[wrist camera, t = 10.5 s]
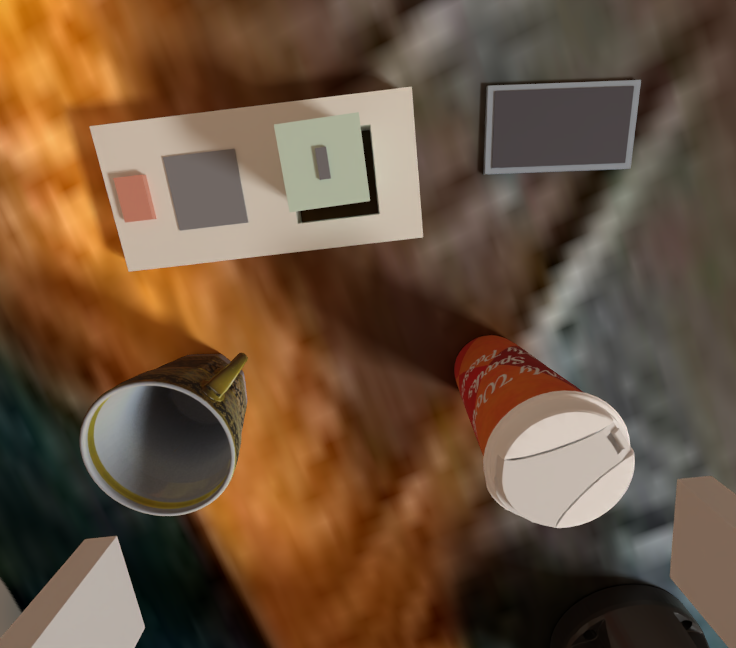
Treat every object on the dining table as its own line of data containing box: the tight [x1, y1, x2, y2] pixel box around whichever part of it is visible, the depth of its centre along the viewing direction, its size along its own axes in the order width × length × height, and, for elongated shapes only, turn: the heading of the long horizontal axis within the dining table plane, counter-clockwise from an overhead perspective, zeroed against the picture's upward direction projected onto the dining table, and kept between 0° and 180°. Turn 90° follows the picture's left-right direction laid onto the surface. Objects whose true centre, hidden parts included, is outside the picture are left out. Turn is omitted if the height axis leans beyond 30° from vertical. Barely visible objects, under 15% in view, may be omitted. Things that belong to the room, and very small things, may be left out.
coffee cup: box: [454, 335, 635, 528], centre depth 30 cm, size 8×8×15 cm
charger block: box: [274, 112, 370, 212], centre depth 28 cm, size 4×4×10 cm
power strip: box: [89, 87, 423, 272], centre depth 31 cm, size 10×22×3 cm, turn 96°
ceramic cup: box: [80, 353, 247, 516], centre depth 32 cm, size 13×10×10 cm
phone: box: [483, 80, 641, 174], centre depth 32 cm, size 6×11×1 cm, turn 92°
